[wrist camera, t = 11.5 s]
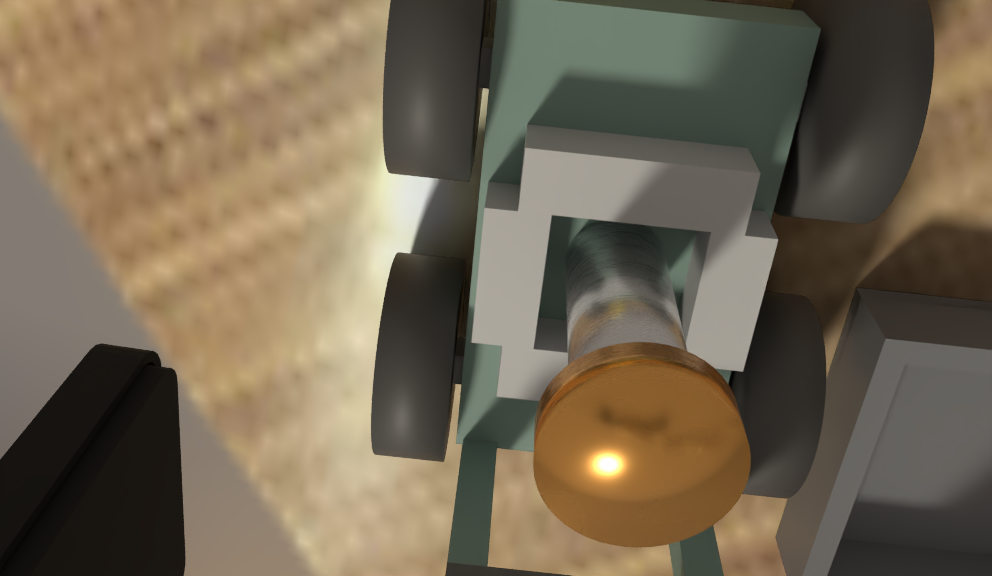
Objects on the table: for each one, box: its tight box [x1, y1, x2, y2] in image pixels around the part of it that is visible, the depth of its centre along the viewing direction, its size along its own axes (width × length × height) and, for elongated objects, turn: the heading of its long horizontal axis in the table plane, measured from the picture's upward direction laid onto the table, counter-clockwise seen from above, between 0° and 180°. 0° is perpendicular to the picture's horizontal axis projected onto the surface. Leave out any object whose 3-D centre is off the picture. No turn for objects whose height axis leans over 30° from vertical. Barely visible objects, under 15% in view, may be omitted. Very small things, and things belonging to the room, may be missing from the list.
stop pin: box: [533, 220, 751, 547], centre depth 21 cm, size 4×4×8 cm
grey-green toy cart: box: [371, 0, 934, 576], centre depth 24 cm, size 12×15×11 cm
